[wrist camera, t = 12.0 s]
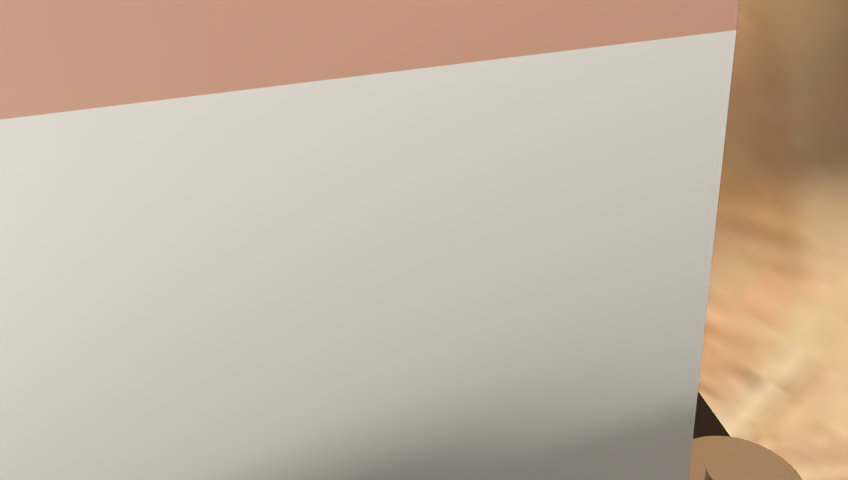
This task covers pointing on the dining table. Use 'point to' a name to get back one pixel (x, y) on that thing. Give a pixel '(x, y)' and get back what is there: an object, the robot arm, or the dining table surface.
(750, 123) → the dining table surface
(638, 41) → the capped block
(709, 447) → the robot arm
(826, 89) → the dining table surface
